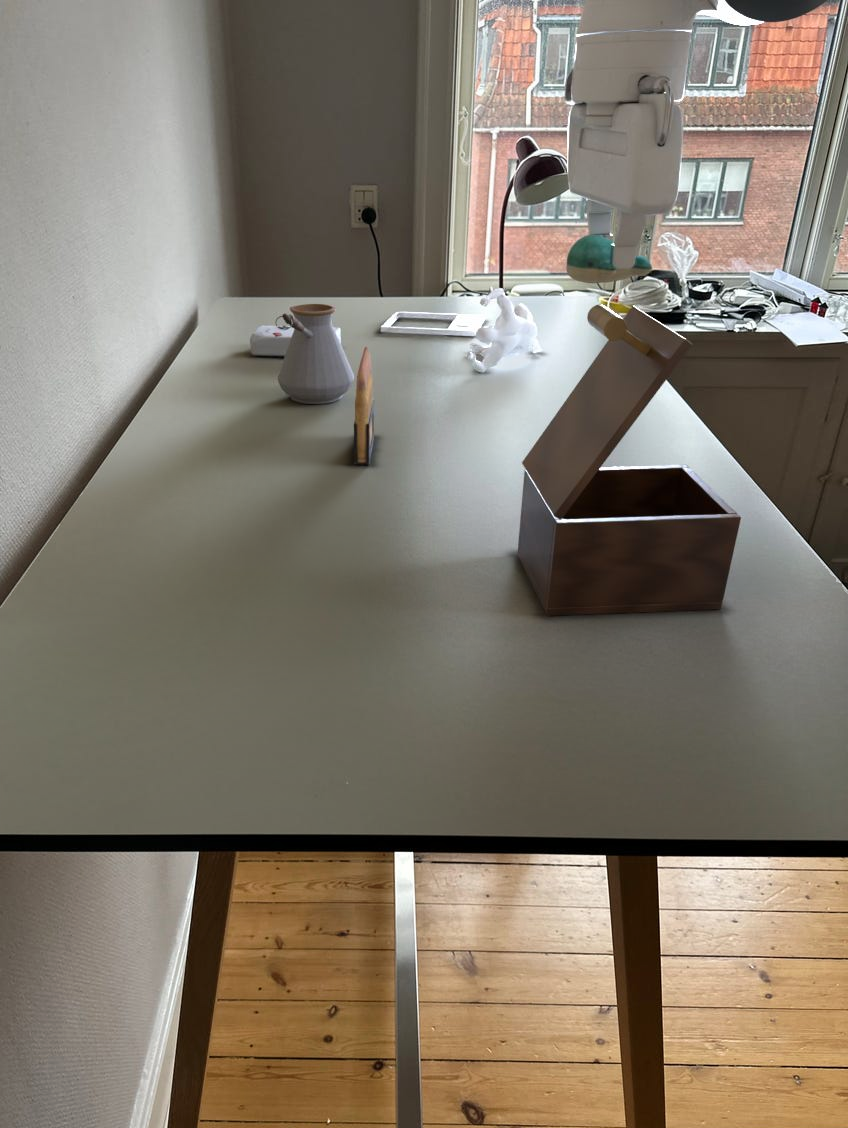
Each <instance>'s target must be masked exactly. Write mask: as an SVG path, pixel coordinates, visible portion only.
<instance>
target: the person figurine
mask: <svg viewBox="0 0 848 1128" xmlns="http://www.w3.org/2000/svg"><path fill="white" fill-rule="evenodd" d="M494 299H495V300H496V304H497V306H498V307H499V309H500V314H499V316H498V317H497V318H496V320H495V323H494V326H493V325H489V326H488V325H485V326H481V327H480V328H478V329H477V331H476V335H475V337H476V339H477V341H478V342H480V343H483V344H486V345H487V346H484V345H481V344H477V343H473V342H471V343H469V348H470V350H471V351H468V352H467V353H466V358H467V359H468V360H469V361H470V363H471V365H472V367H473V368H474V369H475V370H476V371H477V372H478V373H485V372H486V370H488V369H489V368H492V367H495V366H497V365H498V364H499V363H500V362H501V360H502V359H504V358H508V357H512V356H514V355H520V354H524V353H527V352H529V350H530V349H531V348H532V353H533V354H537V353H538V354H539V353H540V352H542V351H543V350H542V348H541V347H540V342H539V341H538V339H537V336H538V328H537V325H536V323H535V322H534V321H533V315H532V313H531V312H530V310H529V308H528V307H527V306H526V305H524V304H523V303H518V304H517V305H516V306H515V308H514V305H513V303H512V301H511V299H509V297H508V296H506V294H505V290H504V289H503V288H501V287H498V288H495V289H493V290H492V291H491V292H489V293H488V294H487V295H486V296H484V297H483V298H481V299H480V301H479V304H480V305H481V306H484V307H487V306H489V305H490V304H491V300H494ZM491 343H492V344H491ZM476 354H480V356H481V357H482V358H483V359H482V360H481V361H480V360H478V359H476V358H477V355H476Z"/></svg>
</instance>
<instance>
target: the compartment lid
mask: <svg viewBox="0 0 848 1128" xmlns="http://www.w3.org/2000/svg"><path fill="white" fill-rule="evenodd" d="M586 318H587V322H588V324H589V325H590V326H591V327H592V328H594V330H596V331H597V332H599V333H600V334H601V335H602V336H604V337H605V338H606V339H607V341H606V342H605V344H604V346H603V347H602V348H601V350H600V351H599V353H598V354H597V356H596V357H595V359H594V360H593V361H592V363H591V364H590V365H589V367H587V369H586V371H585V373H584V374H583V375H582V377H581V378H580V379H579V381H578V382H577V384H576V385H575V387H574V388H573V389H572V390H571V392H570V394H569V395H568V396H567V398H566V400H565V401H564V402H563V403H562V405H561V407H560V408H559V409H558V411H557V413H556V414H555V415H554V417H553V418H552V419H551V420H550V422H549V423H548V425H547V426H546V427H545V429H544V430H543V432H542V433H541V434H540V436H539V438H538V439H537V440H536V442H535V443H534V445H532V447H531V449H530V450H529V451H528V453H527V455H526V456H525V457H524V459H523V460H522V462H521V464H522V465H523V468H524V470H526V471H527V472H528V474H529V476H530V477H531V479H532V481H533V482H534V484H535V485H536V487H537V489H538V490H539V492H540V494H541V495H542V497H543V499H544V500H545V502H546V504H547V505H548V507H549V509H550V510H551V512H552V514H553V515H554V516H555V517H557V518H558V519H560V520H561V519H562V518H563V517H564V515H565V514H566V513H567V511H568V510H569V509H570V507H571V506H572V505H573V503H574V502H575V501H576V499H577V498H578V497H579V495H580V494H581V493H582V491H583V490H584V489H585V487H586V486H587V485H588V483H589V482H590V481H591V479H592V478H593V477H594V475H595V474H596V473H597V471H598V470H599V469H600V467H603V465H604V463H605V462H606V461H607V459H608V458H609V457H610V456H611V454H612V453H613V452H614V451H615V448H617V446H618V445H619V443H620V442H621V441H622V440H623V438H624V437H625V436H626V434H627V433H628V431H629V430H630V429H631V428H632V426H633V425H634V423H635V422H636V421H637V420H638V418H639V417H640V415H641V414H642V413H643V412H644V410H645V409H646V408H647V406H648V405H649V403H650V402H651V401H652V399H653V398H654V397H655V396H656V394H657V393H658V391H659V390H660V389H661V387H662V386H663V385H664V383H665V382H666V381H667V380H668V379H669V377H670V376H671V375H672V373H673V372H674V370H675V369H676V368H677V366H678V365H679V363H680V362H681V361H682V360H683V358H684V357H685V356H686V354H687V353H688V352H689V350H690V349H691V347H692V346H693V343H692V342H691V341H689V340H688V339H687V338H685V337H684V336H682V335H680V334H679V333H677V332H676V331H674V330H672V329H671V328H669V327H668V326H666V325H665V324H663V323H661V322H660V321H658V320H657V319H655V318H653V317H652V316H650V315H649V314H647V313H645V312H644V311H642V310H641V309H640V308H637V307H636V306H635V305H632V306H631V308H630V309H629V310H628V312H627V313H626V314H625V316H624V318H623V317H622V316H620V315H619V314H617V313H615V312H614V311H613V310H611V309H610V308H609V307H607V306H606V305H603V304H595V305H593V306H592V307H591V308H590V309H589V311H588V312H587V317H586Z"/></svg>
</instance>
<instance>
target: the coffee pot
mask: <svg viewBox="0 0 848 1128" xmlns="http://www.w3.org/2000/svg"><path fill="white" fill-rule="evenodd" d="M289 310H290V312H291V313H292V314H289V313H282V315H280V316H278V317H276V319H275V322H274V324H275V326H277V327H278V326H279V325H278V324H277V322H278V320H279V319H280V318H282V319H283V321H284V323H285V324H287V325H288V326H290V327H292V328H294V332H293V334H292V337H291V340H290V343H289V346H288V349H287V352H286V354H285V356H283V360H282V363H281V366H280V368H279V372H278V375H277V378H276V379H277V382H278V385H279V387H280V389H281V390H282V391H283V392H284V393H285V394H286V395H288V396H290V399H291V400H292V401H293V402H297V403H301V404H309V405H319V404H321V405H322V404H330V403H334V402H336V401H337V402H338V401H339V400H341V399H342V398H343V395H344V394H346V393H347V392H348V391H349V390H350V389H351V388H352V385H353V383H354V380H355V375H354V372H353V369H352V367H351V365H350V363H349V360H348V358H347V355H346V354H345V350H344V348H343V346H342V343H340V341H339V339H338V337H337V334H336V332H335V330H334V327H335V326H334V325H333V323H332V321H333V315H334V313H335V312H336V310H337V308H336V307H335V305H332V304H325V303H305V304H298V305H294V306H290V307H289ZM290 327H289V328H290ZM278 328H279V327H278ZM289 328H287V329H289ZM279 329H281V328H279ZM287 329H281V330H287Z"/></svg>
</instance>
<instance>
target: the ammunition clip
mask: <svg viewBox="0 0 848 1128" xmlns="http://www.w3.org/2000/svg"><path fill="white" fill-rule="evenodd" d="M355 390H356V391H355V400H354V423H353V465H356V466H359V465H361V466H370V463H371V457H372V452H373V447H374V440H375V401H374V383H373V375H372V362H371V355H370V350H369V348H368V346H365V347H364V348H363V352H362V356H361V359H360V363H359V367H358V370H357V374H356V389H355Z"/></svg>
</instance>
